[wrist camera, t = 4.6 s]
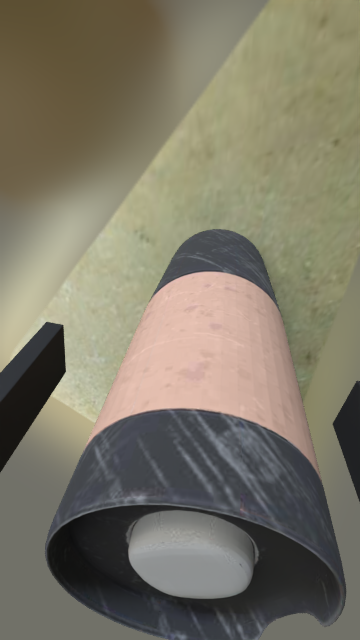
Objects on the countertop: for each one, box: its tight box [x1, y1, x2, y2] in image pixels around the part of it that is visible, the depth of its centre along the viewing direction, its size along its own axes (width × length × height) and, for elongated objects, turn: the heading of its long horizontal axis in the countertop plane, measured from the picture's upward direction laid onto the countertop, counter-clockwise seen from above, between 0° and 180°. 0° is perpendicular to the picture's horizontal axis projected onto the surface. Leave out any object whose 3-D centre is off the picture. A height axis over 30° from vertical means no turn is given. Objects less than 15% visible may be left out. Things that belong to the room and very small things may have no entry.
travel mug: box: [45, 229, 346, 640], centre depth 17 cm, size 8×8×20 cm
